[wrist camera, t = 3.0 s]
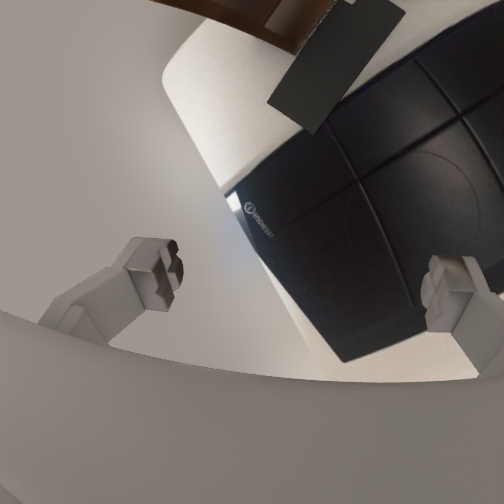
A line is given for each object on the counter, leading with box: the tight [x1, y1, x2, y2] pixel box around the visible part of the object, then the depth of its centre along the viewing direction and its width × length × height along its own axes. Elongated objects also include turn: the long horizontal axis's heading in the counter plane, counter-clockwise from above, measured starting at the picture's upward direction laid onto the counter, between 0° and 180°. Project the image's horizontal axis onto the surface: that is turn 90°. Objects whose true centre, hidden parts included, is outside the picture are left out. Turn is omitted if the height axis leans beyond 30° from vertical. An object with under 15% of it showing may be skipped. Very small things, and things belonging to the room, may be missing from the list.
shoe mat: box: [267, 0, 406, 135], centre depth 29 cm, size 20×7×1 cm, turn 148°
